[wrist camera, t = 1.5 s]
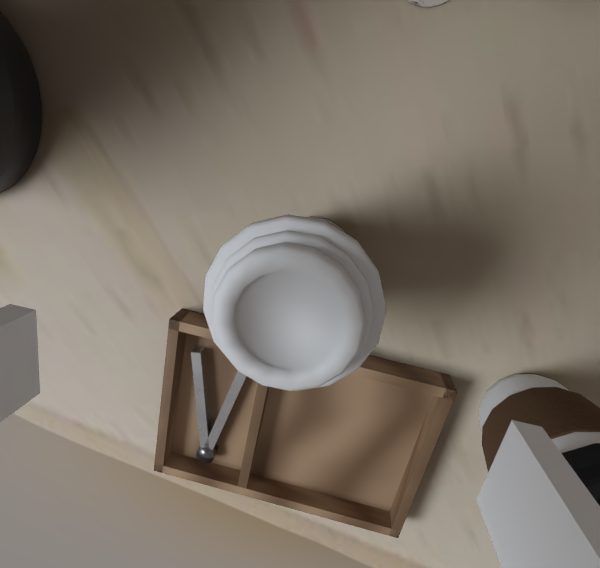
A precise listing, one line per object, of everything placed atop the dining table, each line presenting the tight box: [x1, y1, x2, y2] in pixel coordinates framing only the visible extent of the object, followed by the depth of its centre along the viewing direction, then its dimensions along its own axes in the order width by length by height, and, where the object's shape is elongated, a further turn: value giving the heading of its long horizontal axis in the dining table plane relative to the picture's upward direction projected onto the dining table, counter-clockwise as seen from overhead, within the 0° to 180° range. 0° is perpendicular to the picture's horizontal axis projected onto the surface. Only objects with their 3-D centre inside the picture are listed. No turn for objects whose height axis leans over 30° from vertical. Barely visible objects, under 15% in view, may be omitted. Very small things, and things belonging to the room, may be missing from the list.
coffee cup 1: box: [203, 214, 386, 391], centre depth 22 cm, size 9×9×12 cm
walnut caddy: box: [154, 309, 457, 538], centre depth 31 cm, size 22×15×2 cm
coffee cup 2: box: [479, 374, 600, 506], centre depth 24 cm, size 11×11×12 cm
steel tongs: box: [191, 347, 246, 463], centre depth 32 cm, size 11×5×1 cm, turn 168°
